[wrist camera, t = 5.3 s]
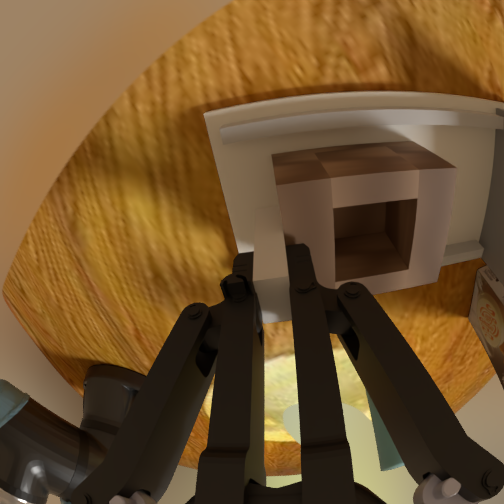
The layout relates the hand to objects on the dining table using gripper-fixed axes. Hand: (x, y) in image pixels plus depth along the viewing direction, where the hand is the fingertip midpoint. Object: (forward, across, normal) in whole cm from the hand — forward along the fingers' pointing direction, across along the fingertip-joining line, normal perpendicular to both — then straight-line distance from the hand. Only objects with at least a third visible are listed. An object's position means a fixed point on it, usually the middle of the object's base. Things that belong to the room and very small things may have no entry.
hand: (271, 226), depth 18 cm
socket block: (+3, +6, 0) cm, 6 cm away
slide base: (+4, +10, 0) cm, 10 cm away
